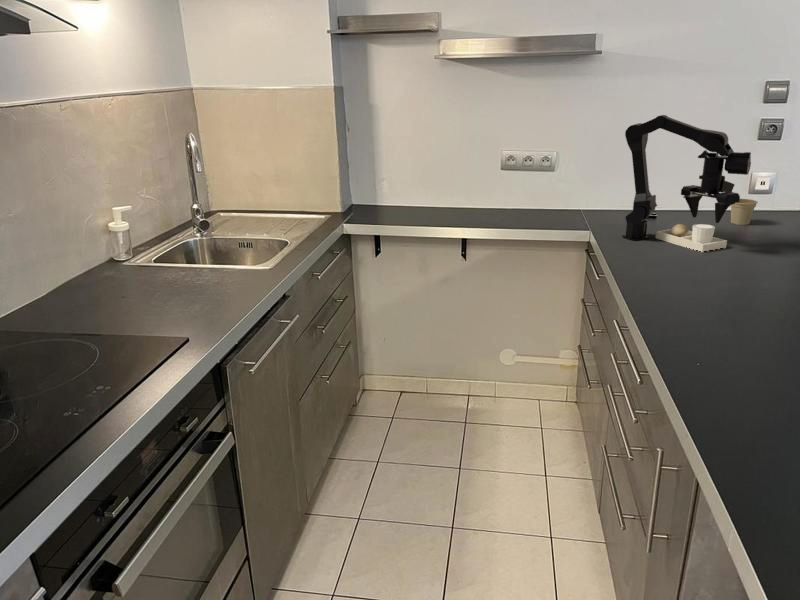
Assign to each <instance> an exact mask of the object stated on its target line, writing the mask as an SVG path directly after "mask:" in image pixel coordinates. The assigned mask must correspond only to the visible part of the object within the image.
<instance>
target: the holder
mask: <svg viewBox="0 0 800 600" xmlns="http://www.w3.org/2000/svg"><path fill="white" fill-rule="evenodd" d="M671 229H672V228H669V229H663V230H656V232H655V239H657V240H660V241H664V242H666V243H670V244H673V245H677V246H680V247H683V248H686V247H687V249H689V248H690V249H689V250H693V249H694V250H693V251H696V250H698V251H697V252H699V251H701V252H700V253H705V252H704V251H707V252H710V251H709V250H713V251H716V250H715V249H718V250H721V249H720V248H723V249H727V243H728V240H726V239H722V238H719V237H714V236H713V238H712V242H711V243H707V244H701V243H698V242H694V241H692V230H689V229H688V235H687V236H685V237H677V236H673V235H671Z"/></svg>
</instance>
